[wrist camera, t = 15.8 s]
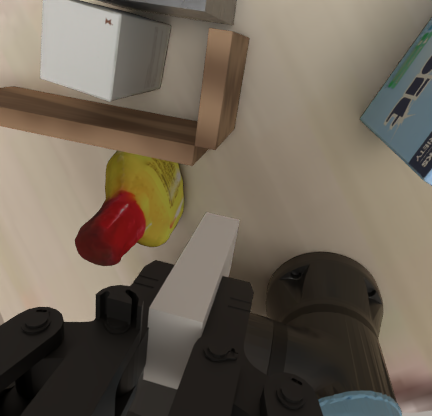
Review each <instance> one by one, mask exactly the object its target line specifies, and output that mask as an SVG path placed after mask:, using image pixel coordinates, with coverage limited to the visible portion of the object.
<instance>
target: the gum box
mask: <svg viewBox="0 0 432 416" xmlns="http://www.w3.org/2000/svg"><path fill="white" fill-rule="evenodd" d="M360 120H361V121H362V122H363V123H364V124H365V125H366V126H367V127H368V128H369V129H370V130H371V131H372V132H373V133H374V134H375V135H377V136H378V137H379V138H380V139H381V140H382V141H383V142H384V143H385V144H386V145H387V146H388V147H389V148H390V149H391V150H392V151H394V152H395V153H396V154H397V155H398V156H399V157H400V158H401V159H402V160H403V161H404V162H405V163H406V164H407V165H408V166H409V167H410V168H411V169H412V170H413V171H414V172H415V173H416V174H417V175H419V176H420V177H421V179H422V180H424V181H425V182H426V183H428V184H430V185H431V186H432V18H431V19H430V21H429V22H428V24H427V25H426V26H425V28H424V29H423V31H422V32H421V33H420V35H419V36H418V38H417V39H416V40H415V42H414V43H413V45H412V46H411V47H410V49H409V50H408V52H407V53H406V54H405V56H404V57H403V59H402V60H401V61H400V63H399V64H398V66H397V67H396V68H395V70H394V71H393V73H392V74H391V75H390V77H389V78H388V80H387V81H386V82H385V84H384V85H383V87H382V88H381V90H380V91H379V92H378V94H377V95H376V97H375V98H374V99H373V101H372V102H371V104H370V105H369V106H368V108H367V109H366V111H365V112H364V114H363V115H362V116H361V118H360Z"/></svg>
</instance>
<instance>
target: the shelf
mask: <svg viewBox="0 0 432 416" xmlns="http://www.w3.org/2000/svg"><path fill="white" fill-rule="evenodd" d="M248 44H249V38H248V37H245V36H243V35H240V34H238V33H235V32H232V31H226V30H219V29H213V28H209V33H208V41H207V49H206V57H205V66H204V74H203V82H202V90H201V98H200V107H199V115H198V122H197V121H192V120H186V119H181V118H176V117H171V116H165V115H160V114H155V113H150V112H144V111H139V110H134V109H129V108H123V107H118V106H113V105H108V104H102V103H97V102H92V101H87V100H82V99H76V98H71V97H66V96H61V95H55V94H50V93H45V92H40V91H34V90H29V89H24V88H19V87H4V88H0V126H3V127H8V128H12V129H17V130H22V131H27V132H32V133H36V134H41V135H46V136H51V137H56V138H60V139H65V140H70V141H75V142H80V143H84V144H89V145H94V146H99V147H104V148H108V149H113V150H118V151H123V152H127V153H132V154H137V155H142V156H147V157H151V158H156V159H161V160H166V161H171V162H175V163H180V164H185V165H190V166H193V165H194V164H195V163H196V162H197V161H198V160H199V159H200V158H201V157H202V155H203V154H204V153H205V152H206V151H207V150H208V149H213V150H216V149H217V147H218V146H219V145H220V144H221V143H222V142H223V141H224V140H225V139H226V137H227V136H228V135H229V134H230V133H231V132H232V131H233V130H234V128H235V122H236V116H237V110H238V104H239V98H240V92H241V86H242V80H243V74H244V68H245V62H246V56H247V50H248Z"/></svg>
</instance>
